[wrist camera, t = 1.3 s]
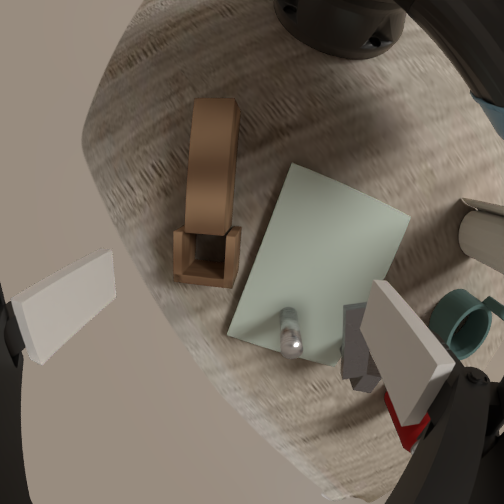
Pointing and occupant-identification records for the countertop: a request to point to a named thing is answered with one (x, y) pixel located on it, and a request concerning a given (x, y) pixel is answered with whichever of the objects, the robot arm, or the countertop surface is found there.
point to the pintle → (290, 334)
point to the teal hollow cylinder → (476, 325)
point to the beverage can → (406, 427)
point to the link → (210, 194)
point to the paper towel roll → (484, 234)
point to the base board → (316, 262)
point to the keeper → (357, 351)
